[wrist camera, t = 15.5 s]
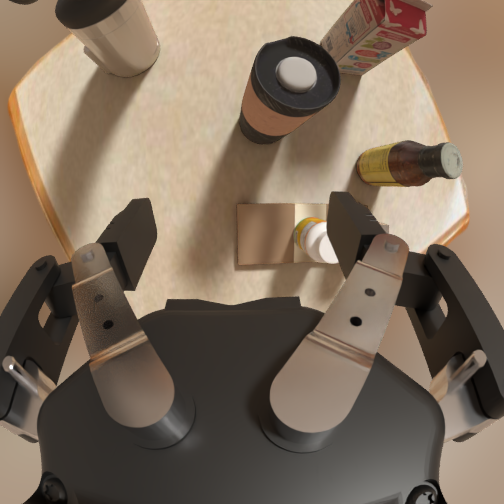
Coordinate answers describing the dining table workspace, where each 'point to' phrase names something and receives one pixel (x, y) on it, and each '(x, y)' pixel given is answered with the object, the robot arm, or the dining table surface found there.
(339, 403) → the robot arm
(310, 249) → the supplement bottle
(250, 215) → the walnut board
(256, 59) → the travel mug
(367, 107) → the dining table surface
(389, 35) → the juice carton
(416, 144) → the sauce bottle
